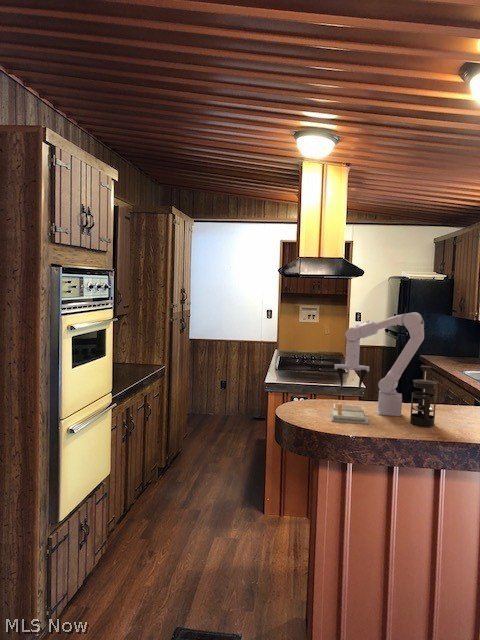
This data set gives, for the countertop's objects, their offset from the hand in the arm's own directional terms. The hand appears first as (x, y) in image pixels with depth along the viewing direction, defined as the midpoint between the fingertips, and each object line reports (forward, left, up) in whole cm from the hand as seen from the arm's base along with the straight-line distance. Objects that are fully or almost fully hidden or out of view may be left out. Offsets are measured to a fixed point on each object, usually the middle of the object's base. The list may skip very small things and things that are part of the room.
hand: (350, 386), depth 231 cm
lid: (+2, +20, -9) cm, 22 cm away
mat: (+1, +20, -9) cm, 22 cm away
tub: (+1, +9, -9) cm, 13 cm away
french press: (-27, +19, -10) cm, 34 cm away
